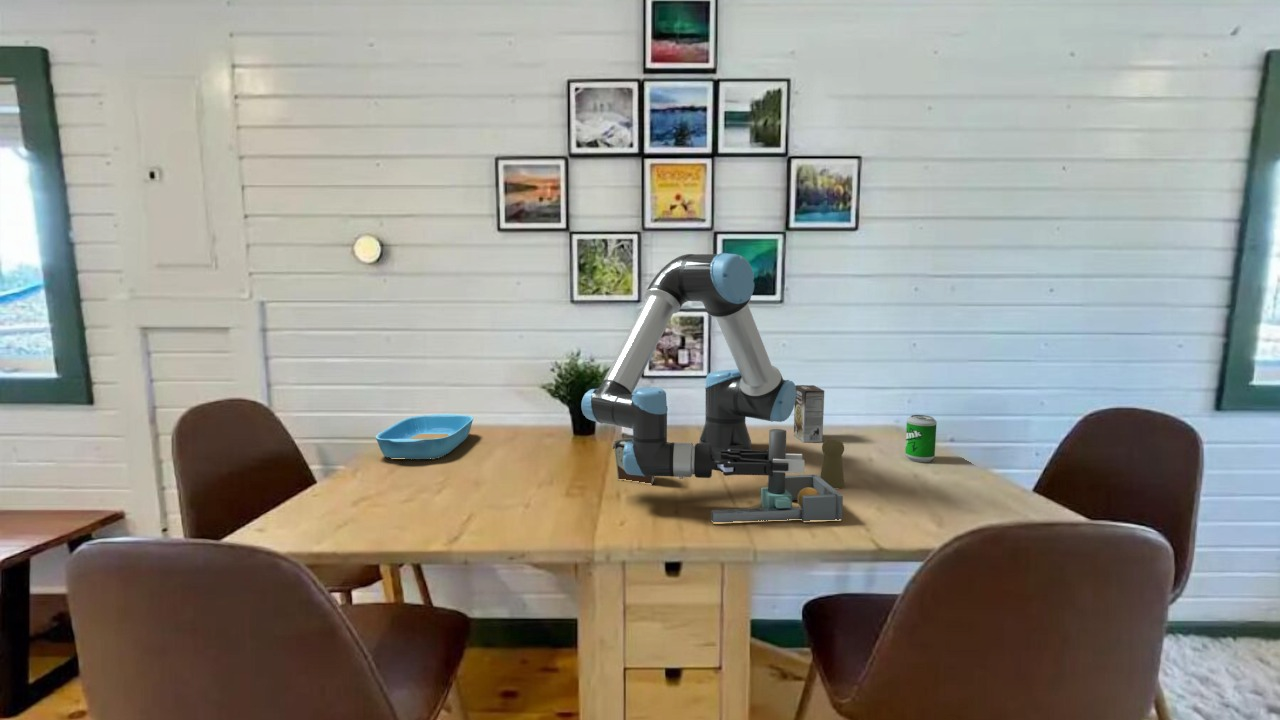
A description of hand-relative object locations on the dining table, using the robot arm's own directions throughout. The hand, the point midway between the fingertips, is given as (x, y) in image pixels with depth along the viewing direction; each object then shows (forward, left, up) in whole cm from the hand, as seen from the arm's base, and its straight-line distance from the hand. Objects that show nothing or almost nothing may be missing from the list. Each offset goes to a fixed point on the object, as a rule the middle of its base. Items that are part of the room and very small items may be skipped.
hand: (802, 463), depth 147 cm
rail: (-7, -9, -11) cm, 16 cm away
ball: (+1, +2, -6) cm, 7 cm away
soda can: (+19, +55, -11) cm, 59 cm away
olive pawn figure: (+2, +22, -11) cm, 25 cm away
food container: (-42, +5, -11) cm, 44 cm away
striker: (-4, -3, -11) cm, 12 cm away
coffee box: (-14, +64, -11) cm, 66 cm away
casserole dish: (-112, +4, -12) cm, 113 cm away
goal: (+2, +3, -11) cm, 11 cm away
